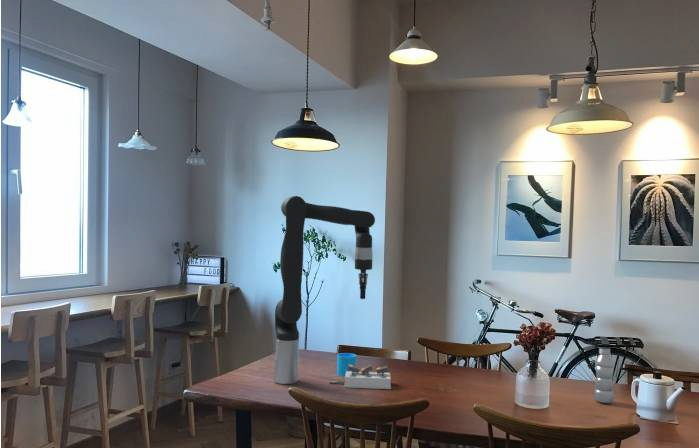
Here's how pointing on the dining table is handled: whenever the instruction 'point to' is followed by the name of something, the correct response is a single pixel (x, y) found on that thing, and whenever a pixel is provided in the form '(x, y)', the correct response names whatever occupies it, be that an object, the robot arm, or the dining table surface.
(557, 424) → the dining table surface
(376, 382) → the power strip
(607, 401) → the plastic bottle
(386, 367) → the rocker
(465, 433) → the dining table surface
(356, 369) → the rocker
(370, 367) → the rocker
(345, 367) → the mug
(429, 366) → the dining table surface
